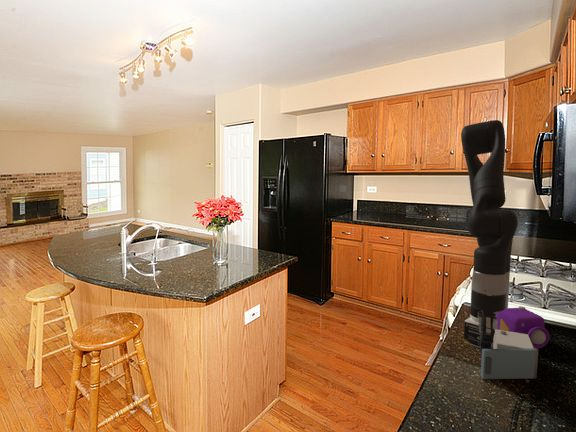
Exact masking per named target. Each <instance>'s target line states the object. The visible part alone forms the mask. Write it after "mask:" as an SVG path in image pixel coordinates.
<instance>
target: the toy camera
mask: <svg viewBox="0 0 576 432" xmlns="http://www.w3.org/2000/svg"><path fill="white" fill-rule="evenodd" d="M497 321H498V330H503V331H510V332H516V333H522V334H528V336H529V338H530V341H531V343H532V345H533V348H536V349H538V350H539V349H542V348H544V347H545V346H546V345H547V344H548V343H549V340H550V332H549V331H548V329H547V328H545V324H546V323H545V319H544V317H542V316H541V315H539V314H537V313H534V311H533V312H532V311H531V310H529V309H526V307H524V306H523V305H522V306H521V305H519V306H518V307H508V308H505V309H504V310H503V311H501V312H497Z"/></svg>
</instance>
